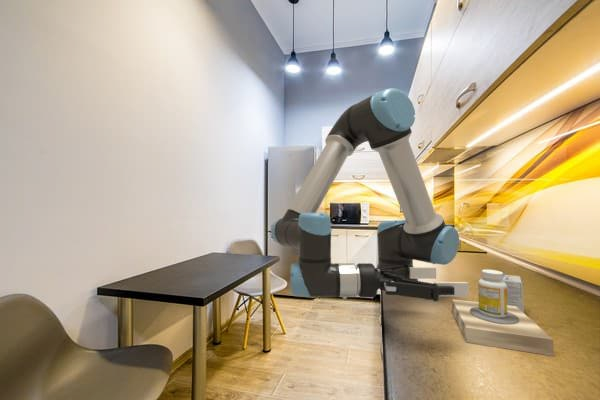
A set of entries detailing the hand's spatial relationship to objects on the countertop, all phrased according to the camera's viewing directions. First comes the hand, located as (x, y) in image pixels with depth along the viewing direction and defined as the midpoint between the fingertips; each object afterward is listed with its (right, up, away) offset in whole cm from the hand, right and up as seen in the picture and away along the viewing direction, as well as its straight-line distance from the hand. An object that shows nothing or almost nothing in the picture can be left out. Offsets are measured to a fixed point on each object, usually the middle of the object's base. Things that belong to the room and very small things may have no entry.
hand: (450, 280), depth 61 cm
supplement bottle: (+10, -8, 0) cm, 12 cm away
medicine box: (+23, -12, +10) cm, 27 cm away
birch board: (+10, -11, -1) cm, 15 cm away
